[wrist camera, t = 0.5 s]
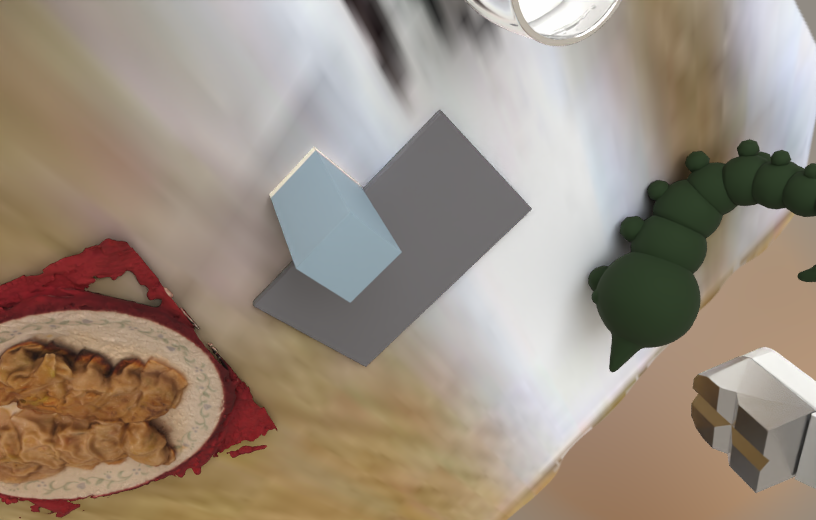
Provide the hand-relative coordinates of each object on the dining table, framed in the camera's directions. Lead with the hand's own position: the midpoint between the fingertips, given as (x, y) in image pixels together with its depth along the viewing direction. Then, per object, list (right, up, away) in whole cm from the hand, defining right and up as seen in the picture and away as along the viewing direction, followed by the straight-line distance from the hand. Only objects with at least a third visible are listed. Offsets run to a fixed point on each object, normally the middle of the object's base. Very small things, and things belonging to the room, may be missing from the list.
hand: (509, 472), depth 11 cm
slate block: (-9, +10, +34) cm, 37 cm away
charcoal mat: (-3, +5, +41) cm, 41 cm away
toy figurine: (+22, +8, +50) cm, 55 cm away
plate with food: (-30, -8, +38) cm, 49 cm away
